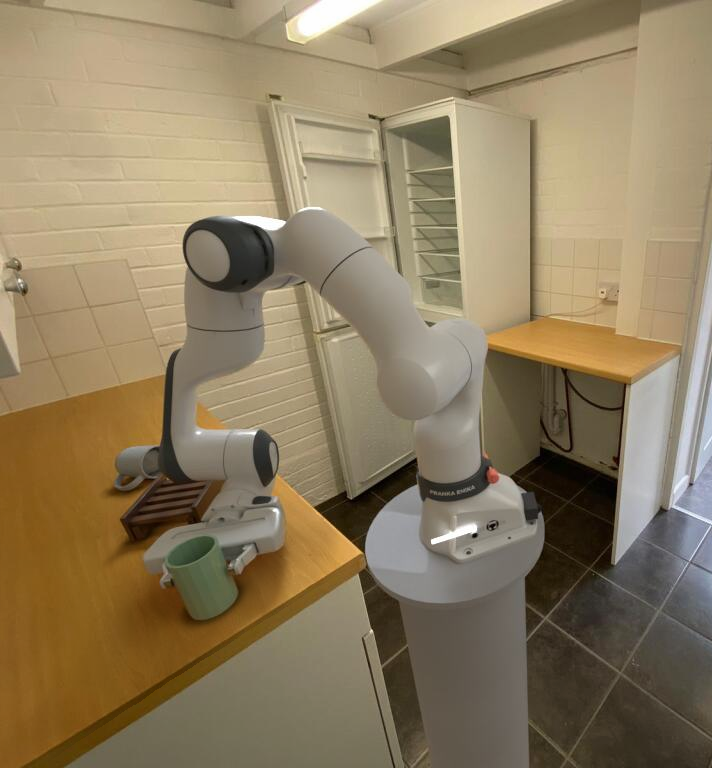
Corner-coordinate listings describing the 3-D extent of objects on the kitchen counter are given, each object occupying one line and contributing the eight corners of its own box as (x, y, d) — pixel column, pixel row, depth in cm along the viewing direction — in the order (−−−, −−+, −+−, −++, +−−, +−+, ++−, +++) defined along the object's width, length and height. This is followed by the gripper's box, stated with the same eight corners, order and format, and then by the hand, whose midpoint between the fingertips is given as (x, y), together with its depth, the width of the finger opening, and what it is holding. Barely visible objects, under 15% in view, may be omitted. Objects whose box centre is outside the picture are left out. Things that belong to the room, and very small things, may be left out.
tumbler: (243, 580, 71) (224, 530, 67) (229, 614, 65) (207, 562, 61) (200, 589, 70) (177, 539, 65) (182, 624, 64) (155, 572, 59)
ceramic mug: (147, 464, 104) (134, 438, 101) (177, 465, 104) (165, 439, 100) (106, 492, 95) (90, 464, 92) (138, 493, 94) (124, 465, 91)
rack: (231, 483, 96) (224, 463, 94) (204, 528, 83) (195, 506, 81) (169, 493, 94) (160, 473, 91) (130, 541, 80) (119, 519, 78)
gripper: (161, 515, 73) (113, 578, 61) (287, 494, 77) (266, 549, 65) (174, 543, 76) (130, 609, 63) (295, 521, 80) (276, 578, 68)
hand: (200, 578), depth 64 cm, fingers open, 8 cm apart
